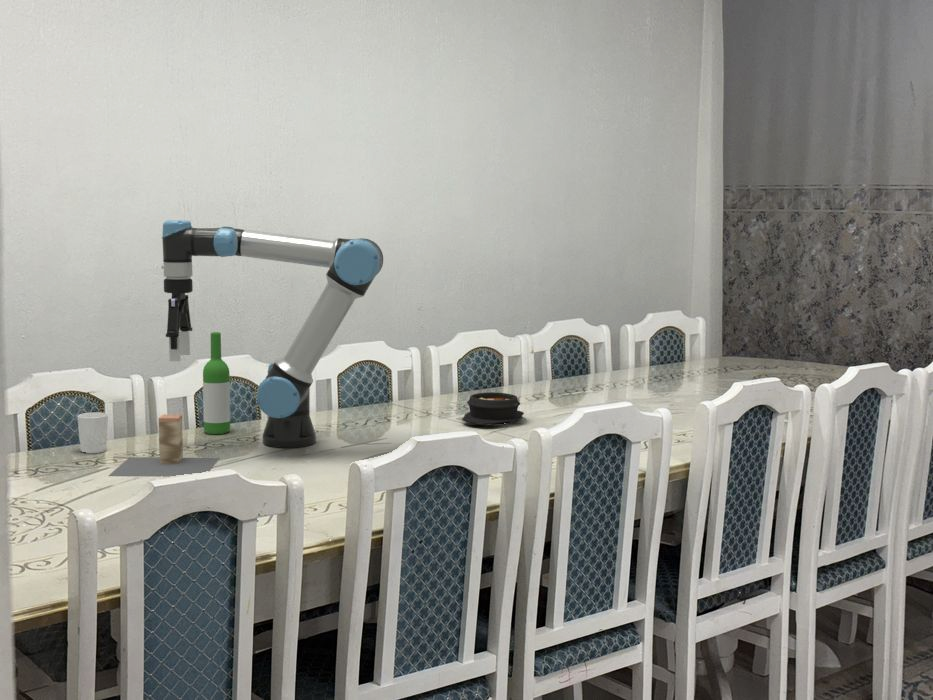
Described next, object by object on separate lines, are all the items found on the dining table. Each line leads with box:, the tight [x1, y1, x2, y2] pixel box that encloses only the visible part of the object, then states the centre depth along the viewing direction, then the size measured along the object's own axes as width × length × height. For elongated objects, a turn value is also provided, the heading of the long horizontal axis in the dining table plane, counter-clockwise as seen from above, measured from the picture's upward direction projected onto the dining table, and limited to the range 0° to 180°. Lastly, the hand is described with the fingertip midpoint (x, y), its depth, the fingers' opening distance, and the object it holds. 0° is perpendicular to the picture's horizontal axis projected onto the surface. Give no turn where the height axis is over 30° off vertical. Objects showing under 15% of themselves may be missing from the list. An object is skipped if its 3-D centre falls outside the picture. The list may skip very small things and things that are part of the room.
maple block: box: [158, 413, 184, 463], centre depth 285 cm, size 5×5×12 cm
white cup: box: [77, 412, 109, 454], centre depth 297 cm, size 8×8×10 cm
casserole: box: [461, 391, 525, 425], centre depth 346 cm, size 25×19×8 cm
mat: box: [108, 456, 221, 478], centre depth 280 cm, size 24×20×1 cm
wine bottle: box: [202, 331, 231, 435], centre depth 321 cm, size 8×8×30 cm
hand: (180, 358), depth 295 cm, fingers open, 11 cm apart
